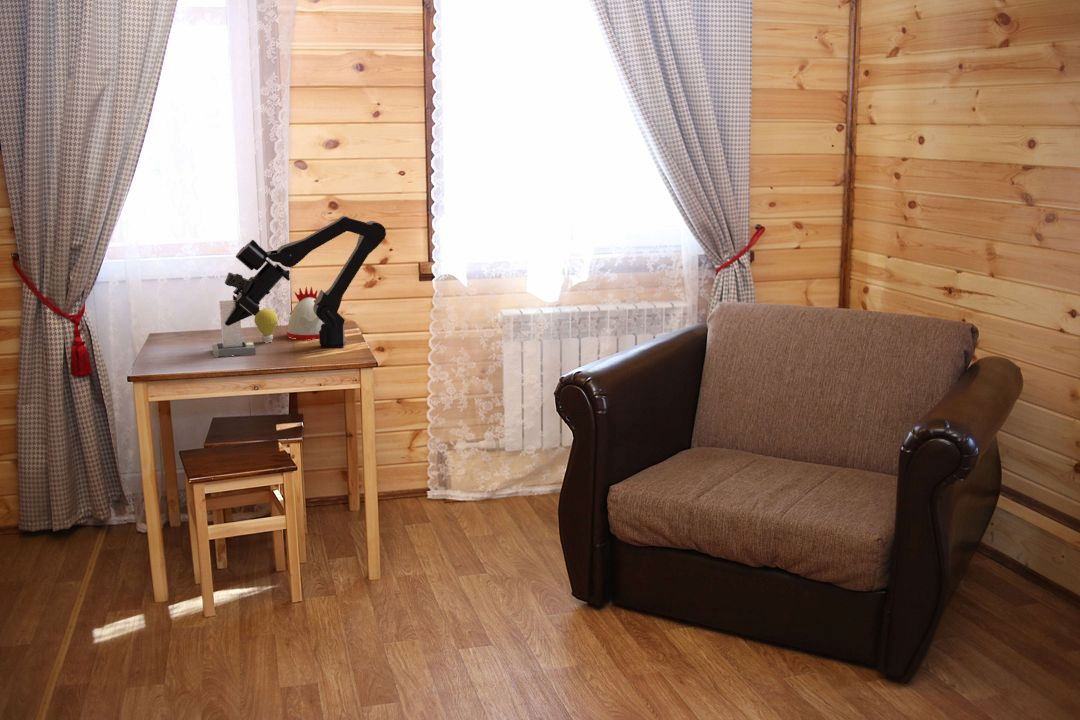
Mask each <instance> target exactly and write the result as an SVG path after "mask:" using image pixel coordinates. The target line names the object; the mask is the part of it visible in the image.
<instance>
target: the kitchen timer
mask: <svg viewBox="0 0 1080 720" xmlns="http://www.w3.org/2000/svg"><path fill="white" fill-rule="evenodd" d="M298 289H299V292H298V293H299V294H298V293H297V292H296V291H294V295H295V297H296V298H297V300H298V302H297V303H296V304H295V306H294V308H293V309H292V310H291V311H290V312H289V320H288V324H287V331H286V333H287V335H286V336H288V337H291V338H296V339H307V340H306V341H309V340H308V339H311V340H310V341H313V340H312V339H319V331H320V329H321V325H322V324H324V323H323V322H322V321H321V320H320V319H319V318H318V317H317V316H316V314H315V313H314V310H313V307H314V304H315V303H314V300H315V299H316V298H317V297H318V296H317V295H318V289H316V290H315V291H313V287H312V286H310V290H309V291H308V287H307V286H305V288H304V289H305V291H304V293H303V291H302V288H301V287H299V288H298ZM288 337H287V338H288Z"/></svg>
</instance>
